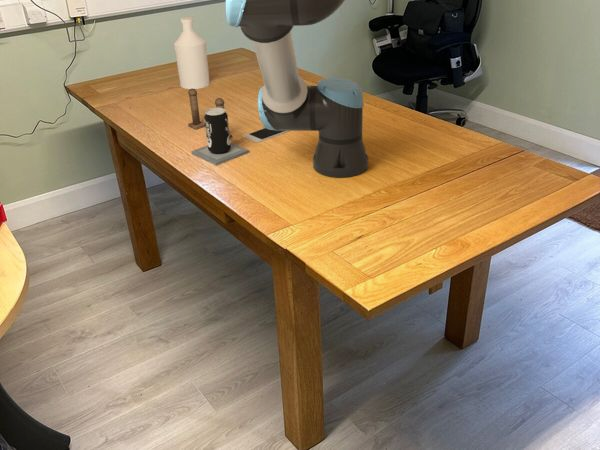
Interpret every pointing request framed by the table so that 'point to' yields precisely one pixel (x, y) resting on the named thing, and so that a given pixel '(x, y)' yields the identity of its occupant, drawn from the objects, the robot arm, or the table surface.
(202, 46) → the bottle
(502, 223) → the table surface
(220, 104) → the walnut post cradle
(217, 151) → the beverage can
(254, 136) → the smartphone
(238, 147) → the slate coaster
